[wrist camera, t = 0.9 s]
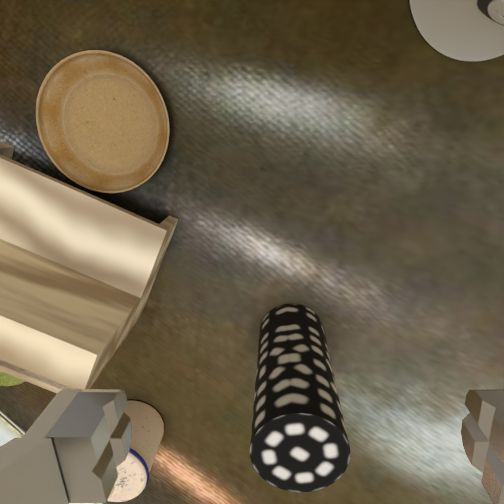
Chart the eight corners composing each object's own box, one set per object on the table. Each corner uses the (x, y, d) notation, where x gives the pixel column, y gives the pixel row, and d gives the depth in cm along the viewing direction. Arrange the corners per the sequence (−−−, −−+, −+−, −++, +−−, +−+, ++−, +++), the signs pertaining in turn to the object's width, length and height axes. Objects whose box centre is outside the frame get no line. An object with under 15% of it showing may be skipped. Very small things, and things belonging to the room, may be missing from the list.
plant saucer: (71, 199, 48) (60, 203, 46) (29, 69, 44) (15, 66, 41) (188, 178, 47) (183, 181, 44) (156, 40, 42) (149, 35, 40)
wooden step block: (4, 142, 46) (-141, 153, 30) (178, 219, 48) (128, 268, 32) (-20, 249, 51) (-157, 308, 35) (140, 316, 52) (79, 402, 36)
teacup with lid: (118, 387, 56) (79, 452, 45) (176, 414, 57) (152, 484, 46) (90, 445, 60) (48, 518, 49) (145, 469, 61) (116, 546, 50)
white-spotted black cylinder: (247, 338, 52) (230, 461, 34) (284, 291, 50) (288, 395, 31) (298, 370, 54) (309, 506, 35) (336, 326, 51) (371, 446, 32)
